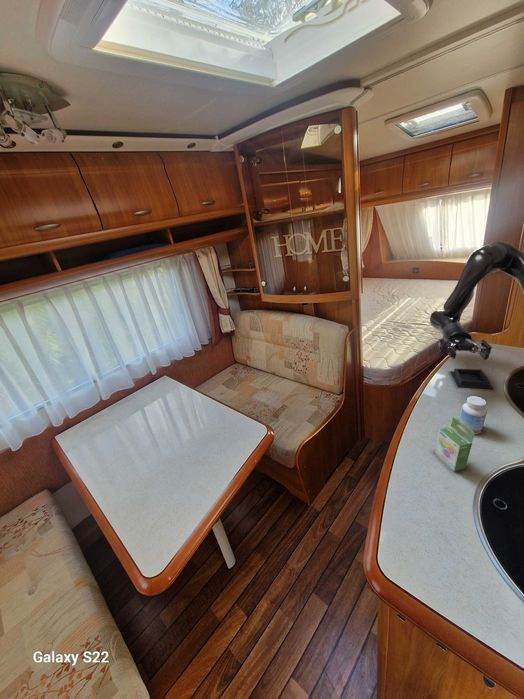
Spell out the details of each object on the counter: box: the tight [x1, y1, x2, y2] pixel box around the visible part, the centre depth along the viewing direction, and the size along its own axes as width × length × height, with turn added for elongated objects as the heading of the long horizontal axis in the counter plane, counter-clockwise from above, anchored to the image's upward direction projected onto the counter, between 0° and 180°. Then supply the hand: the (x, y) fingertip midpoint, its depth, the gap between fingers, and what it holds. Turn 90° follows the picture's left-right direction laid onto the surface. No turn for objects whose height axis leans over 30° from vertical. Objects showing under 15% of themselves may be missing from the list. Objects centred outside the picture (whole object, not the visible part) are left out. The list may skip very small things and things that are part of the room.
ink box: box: [435, 416, 476, 473], centre depth 75 cm, size 7×4×13 cm, turn 10°
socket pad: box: [449, 368, 494, 390], centre depth 107 cm, size 11×11×3 cm
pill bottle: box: [457, 395, 488, 435], centre depth 85 cm, size 6×6×11 cm
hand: (470, 357), depth 88 cm, fingers open, 8 cm apart
